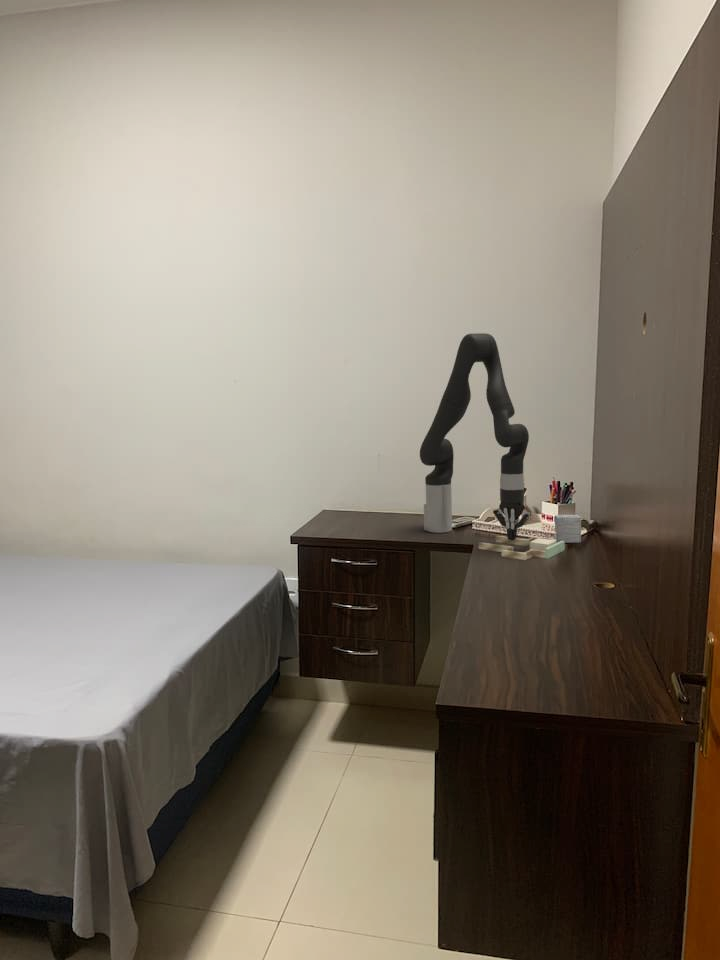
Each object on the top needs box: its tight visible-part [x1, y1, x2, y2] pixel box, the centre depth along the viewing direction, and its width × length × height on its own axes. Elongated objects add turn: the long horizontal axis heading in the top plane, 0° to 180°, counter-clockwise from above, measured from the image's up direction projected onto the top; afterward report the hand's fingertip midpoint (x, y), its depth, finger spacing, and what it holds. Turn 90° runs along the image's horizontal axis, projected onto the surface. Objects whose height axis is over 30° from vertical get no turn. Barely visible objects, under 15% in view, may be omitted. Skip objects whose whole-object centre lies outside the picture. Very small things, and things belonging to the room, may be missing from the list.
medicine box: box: [554, 514, 582, 544], centre depth 244 cm, size 8×4×9 cm, turn 84°
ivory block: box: [529, 538, 557, 551], centre depth 231 cm, size 6×6×4 cm
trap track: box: [478, 535, 566, 561], centre depth 236 cm, size 24×22×3 cm
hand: (511, 539), depth 238 cm, fingers closed
